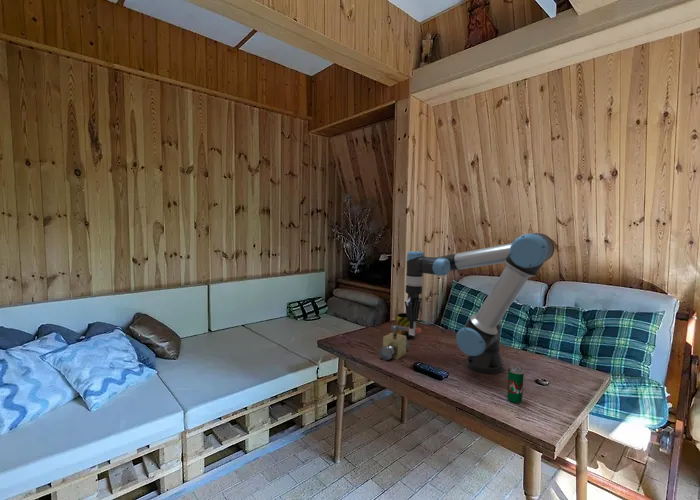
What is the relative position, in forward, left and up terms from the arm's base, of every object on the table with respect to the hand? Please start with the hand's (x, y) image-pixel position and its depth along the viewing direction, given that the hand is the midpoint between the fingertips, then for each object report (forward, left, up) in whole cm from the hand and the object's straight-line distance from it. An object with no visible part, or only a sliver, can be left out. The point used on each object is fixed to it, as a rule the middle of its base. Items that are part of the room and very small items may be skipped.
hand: (411, 334), depth 159 cm
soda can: (-47, +9, -12) cm, 49 cm away
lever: (+4, -1, -2) cm, 4 cm away
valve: (+9, +1, -11) cm, 14 cm away
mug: (+19, -25, -12) cm, 34 cm away
